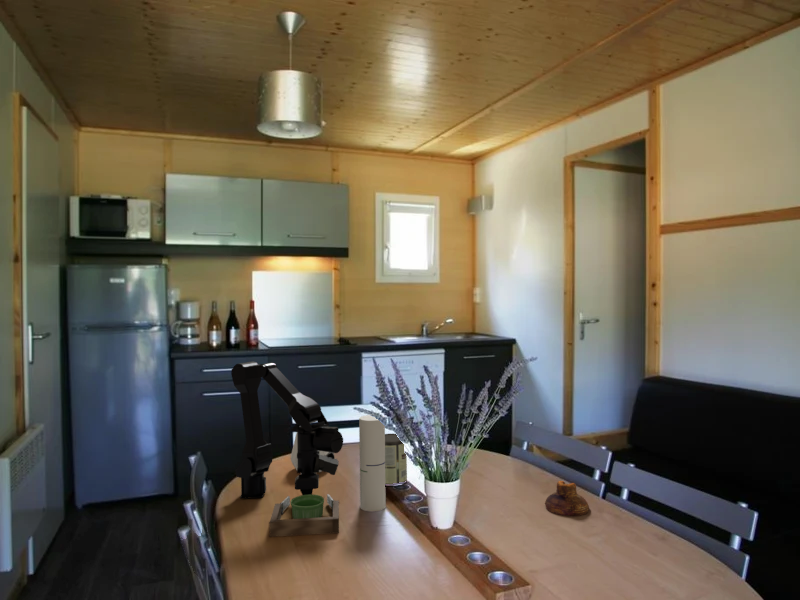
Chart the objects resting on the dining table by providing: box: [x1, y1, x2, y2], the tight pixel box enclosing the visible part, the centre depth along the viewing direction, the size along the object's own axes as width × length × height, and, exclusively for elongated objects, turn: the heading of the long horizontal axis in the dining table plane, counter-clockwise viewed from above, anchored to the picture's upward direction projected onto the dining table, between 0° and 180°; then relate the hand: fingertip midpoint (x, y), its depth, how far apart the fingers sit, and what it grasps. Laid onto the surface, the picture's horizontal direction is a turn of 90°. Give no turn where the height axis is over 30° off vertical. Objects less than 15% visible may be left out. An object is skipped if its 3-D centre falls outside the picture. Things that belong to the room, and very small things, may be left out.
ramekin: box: [290, 493, 325, 519], centre depth 150 cm, size 9×9×4 cm
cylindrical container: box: [358, 414, 387, 512], centre depth 156 cm, size 7×7×25 cm
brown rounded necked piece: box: [544, 480, 590, 517], centre depth 154 cm, size 12×12×7 cm
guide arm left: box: [280, 495, 291, 516], centre depth 154 cm, size 6×1×3 cm, turn 170°
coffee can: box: [385, 433, 408, 484], centre depth 177 cm, size 10×10×14 cm
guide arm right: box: [326, 493, 336, 513], centre depth 155 cm, size 6×1×3 cm, turn 22°
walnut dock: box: [268, 500, 340, 538], centre depth 144 cm, size 17×12×4 cm
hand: (308, 503), depth 156 cm, fingers closed
